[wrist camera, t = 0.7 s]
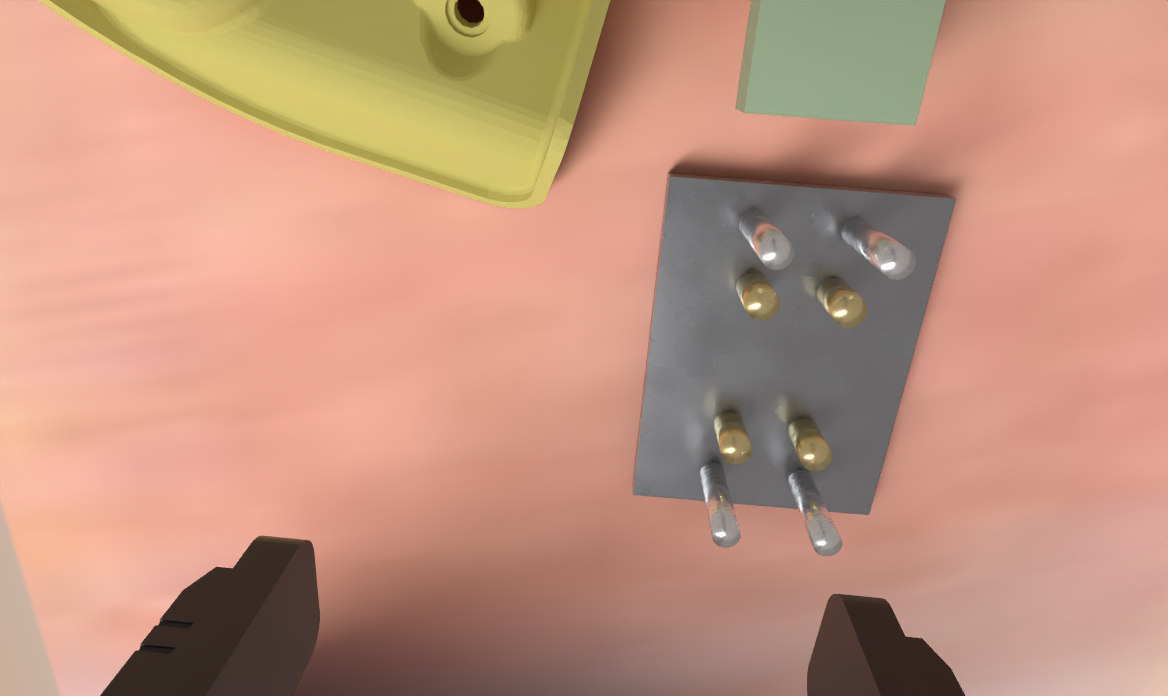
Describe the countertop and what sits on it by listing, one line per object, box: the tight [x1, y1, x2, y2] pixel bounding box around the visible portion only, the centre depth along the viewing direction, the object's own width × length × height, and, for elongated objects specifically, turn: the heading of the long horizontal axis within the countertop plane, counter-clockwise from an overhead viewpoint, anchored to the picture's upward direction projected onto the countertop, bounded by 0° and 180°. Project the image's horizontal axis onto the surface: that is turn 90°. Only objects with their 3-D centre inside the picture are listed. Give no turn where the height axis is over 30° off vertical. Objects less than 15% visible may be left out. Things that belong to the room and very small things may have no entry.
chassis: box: [633, 173, 956, 556], centre depth 31 cm, size 16×12×6 cm
